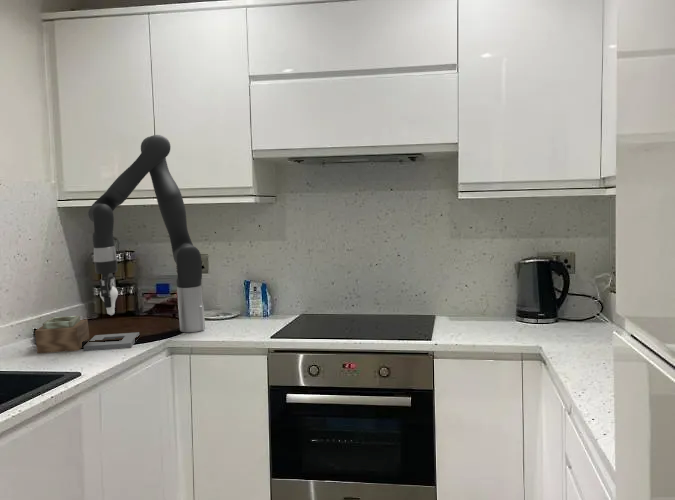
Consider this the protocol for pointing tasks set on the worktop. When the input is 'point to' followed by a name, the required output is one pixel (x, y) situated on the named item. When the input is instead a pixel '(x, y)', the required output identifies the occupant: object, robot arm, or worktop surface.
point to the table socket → (124, 343)
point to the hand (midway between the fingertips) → (110, 305)
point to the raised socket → (62, 334)
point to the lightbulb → (113, 298)
